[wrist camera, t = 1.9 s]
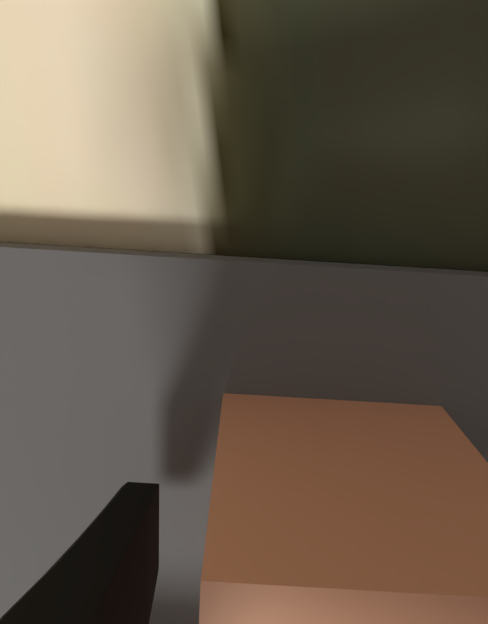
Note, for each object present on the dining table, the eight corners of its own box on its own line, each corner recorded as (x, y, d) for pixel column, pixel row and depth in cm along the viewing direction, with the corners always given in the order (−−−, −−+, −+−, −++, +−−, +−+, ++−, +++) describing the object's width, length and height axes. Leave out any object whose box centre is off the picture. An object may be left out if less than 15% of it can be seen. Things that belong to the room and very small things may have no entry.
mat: (542, 841, 14) (552, 864, 14) (2, 813, 14) (-7, 835, 14) (769, 288, 9) (798, 295, 9) (-87, 236, 9) (-105, 240, 9)
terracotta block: (405, 576, 11) (510, 848, 6) (214, 566, 11) (191, 830, 6) (441, 405, 9) (603, 603, 5) (223, 393, 9) (199, 581, 5)
